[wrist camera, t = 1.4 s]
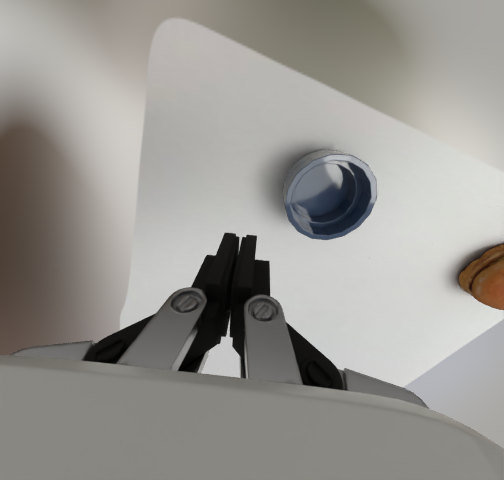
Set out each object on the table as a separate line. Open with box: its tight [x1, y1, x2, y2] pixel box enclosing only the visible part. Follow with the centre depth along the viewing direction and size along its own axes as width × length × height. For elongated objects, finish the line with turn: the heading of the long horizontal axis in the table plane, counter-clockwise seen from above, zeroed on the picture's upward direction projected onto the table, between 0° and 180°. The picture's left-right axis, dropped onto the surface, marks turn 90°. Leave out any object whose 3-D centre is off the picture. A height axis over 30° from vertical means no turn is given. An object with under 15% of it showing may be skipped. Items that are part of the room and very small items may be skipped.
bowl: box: [282, 150, 377, 240], centre depth 23 cm, size 9×9×5 cm
